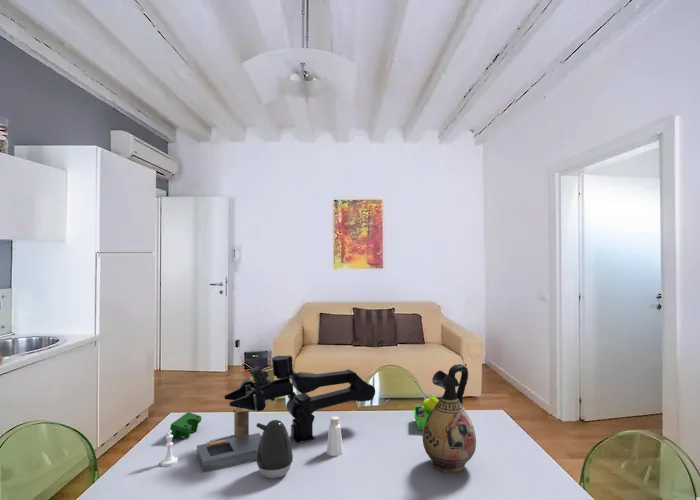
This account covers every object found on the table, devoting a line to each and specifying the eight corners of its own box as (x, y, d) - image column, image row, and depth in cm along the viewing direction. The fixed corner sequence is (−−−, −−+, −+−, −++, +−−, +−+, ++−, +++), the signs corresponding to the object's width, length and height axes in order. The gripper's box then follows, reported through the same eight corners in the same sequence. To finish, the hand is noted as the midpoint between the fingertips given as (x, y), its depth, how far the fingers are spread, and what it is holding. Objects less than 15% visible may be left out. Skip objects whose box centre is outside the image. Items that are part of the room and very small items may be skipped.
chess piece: (181, 460, 129) (181, 427, 129) (169, 467, 124) (170, 433, 124) (168, 457, 130) (168, 425, 131) (156, 465, 126) (156, 431, 126)
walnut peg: (245, 432, 149) (245, 406, 149) (248, 436, 146) (248, 410, 146) (234, 434, 147) (234, 408, 148) (237, 438, 144) (237, 412, 144)
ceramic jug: (446, 484, 114) (445, 374, 115) (412, 460, 128) (412, 362, 129) (492, 470, 122) (491, 366, 123) (455, 448, 136) (455, 355, 136)
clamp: (184, 452, 144) (184, 433, 140) (168, 447, 144) (168, 427, 141) (202, 426, 154) (203, 407, 151) (187, 421, 155) (188, 402, 152)
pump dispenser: (260, 464, 126) (260, 413, 126) (295, 465, 126) (295, 414, 126) (251, 483, 116) (251, 427, 116) (289, 483, 115) (289, 427, 116)
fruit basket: (413, 419, 161) (413, 389, 161) (437, 420, 160) (437, 390, 160) (414, 431, 150) (414, 399, 150) (439, 432, 148) (439, 400, 149)
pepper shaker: (346, 450, 135) (346, 416, 135) (338, 457, 130) (338, 422, 130) (331, 447, 137) (331, 413, 137) (323, 454, 132) (323, 419, 132)
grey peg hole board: (259, 441, 141) (259, 432, 141) (270, 456, 131) (270, 446, 131) (196, 455, 132) (196, 444, 132) (202, 472, 121) (202, 460, 121)
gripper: (265, 360, 149) (219, 370, 142) (279, 369, 132) (229, 381, 126) (268, 392, 149) (223, 403, 142) (283, 405, 132) (233, 418, 125)
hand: (227, 400), depth 134 cm, fingers open, 9 cm apart
